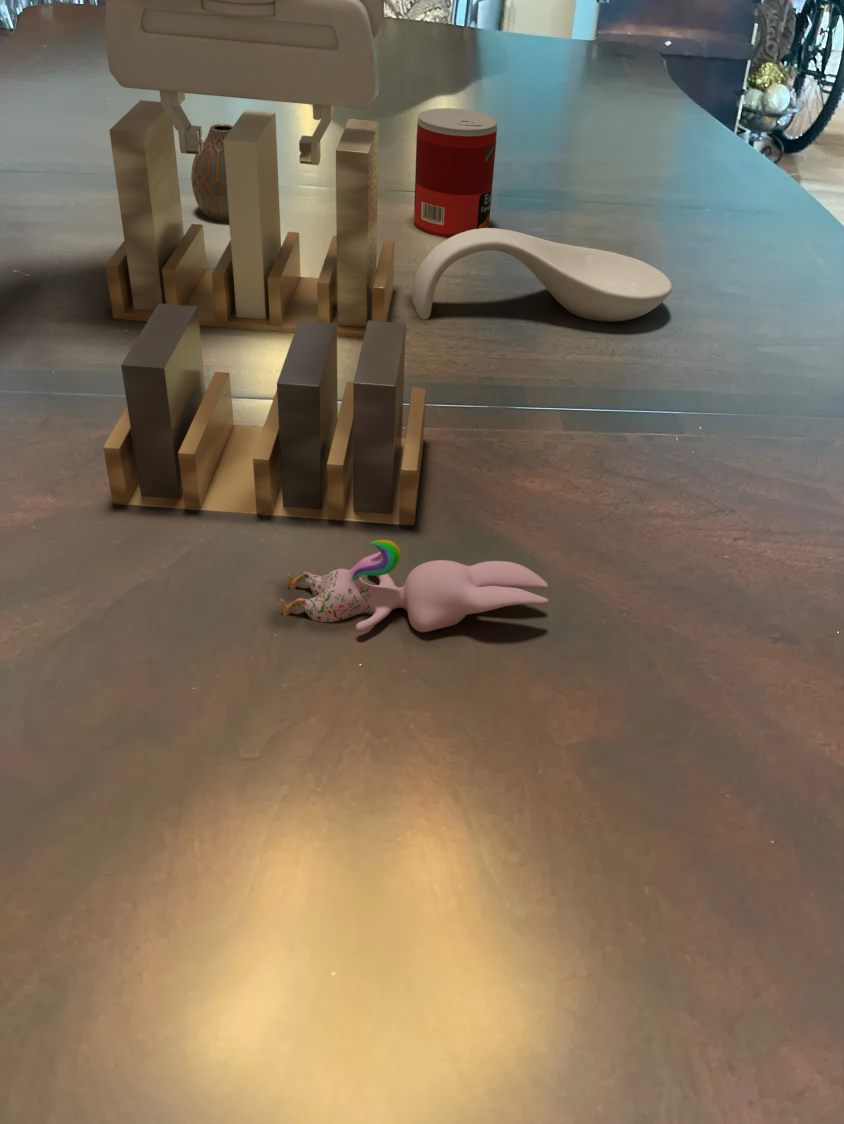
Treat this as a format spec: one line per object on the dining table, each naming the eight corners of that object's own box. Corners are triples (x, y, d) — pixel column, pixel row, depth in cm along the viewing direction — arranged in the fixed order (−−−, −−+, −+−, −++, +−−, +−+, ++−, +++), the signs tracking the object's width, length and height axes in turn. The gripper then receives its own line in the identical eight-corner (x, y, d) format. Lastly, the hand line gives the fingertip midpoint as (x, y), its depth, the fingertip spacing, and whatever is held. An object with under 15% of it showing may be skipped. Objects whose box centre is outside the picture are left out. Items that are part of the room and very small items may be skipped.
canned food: (494, 244, 109) (504, 130, 102) (417, 242, 108) (422, 127, 101) (482, 218, 115) (490, 109, 108) (409, 216, 114) (413, 106, 107)
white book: (236, 317, 88) (223, 139, 79) (254, 277, 95) (244, 109, 86) (266, 320, 88) (256, 142, 79) (282, 279, 95) (275, 111, 86)
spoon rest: (639, 285, 104) (652, 211, 99) (684, 336, 95) (701, 257, 90) (402, 289, 98) (405, 211, 94) (427, 344, 90) (432, 260, 85)
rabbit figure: (284, 665, 59) (551, 651, 58) (261, 580, 55) (546, 564, 54) (301, 597, 64) (547, 584, 63) (281, 515, 60) (543, 499, 59)
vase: (274, 224, 108) (270, 133, 103) (211, 233, 105) (203, 140, 100) (245, 203, 113) (240, 115, 107) (184, 211, 109) (175, 120, 104)
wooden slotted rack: (114, 324, 88) (84, 131, 78) (147, 274, 96) (124, 95, 86) (383, 345, 89) (387, 157, 79) (393, 294, 97) (397, 119, 87)
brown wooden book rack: (114, 516, 67) (89, 370, 60) (157, 431, 75) (139, 295, 69) (413, 537, 67) (420, 395, 61) (422, 451, 76) (429, 318, 69)
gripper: (388, -39, 78) (384, 157, 87) (110, -66, 77) (135, 135, 86) (381, -26, 73) (377, 181, 82) (85, -54, 73) (113, 157, 81)
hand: (251, 157), depth 84 cm, fingers open, 8 cm apart
